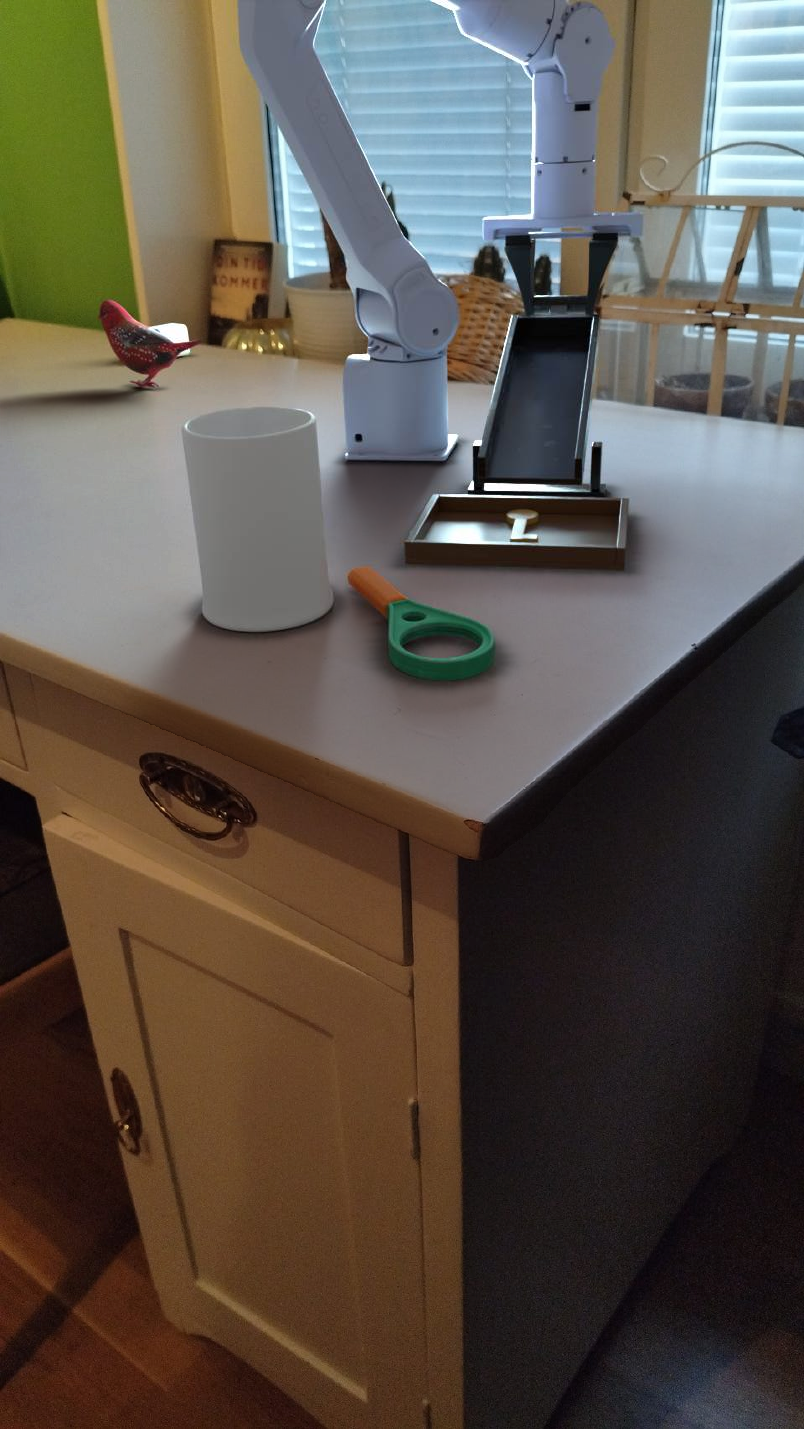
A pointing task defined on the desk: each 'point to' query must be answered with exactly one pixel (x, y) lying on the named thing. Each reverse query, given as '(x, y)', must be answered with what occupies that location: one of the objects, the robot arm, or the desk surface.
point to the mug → (258, 517)
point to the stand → (543, 490)
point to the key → (522, 525)
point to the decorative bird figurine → (139, 343)
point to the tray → (564, 532)
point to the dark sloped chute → (542, 396)
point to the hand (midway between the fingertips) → (560, 320)
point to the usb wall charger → (174, 333)
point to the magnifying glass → (423, 630)
